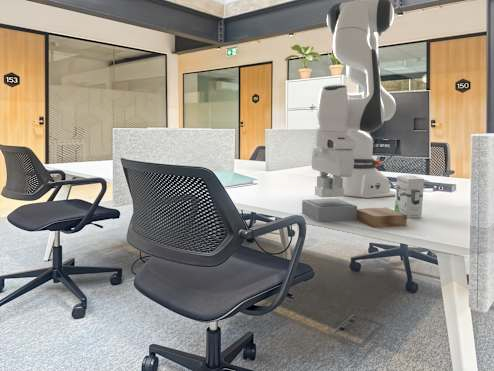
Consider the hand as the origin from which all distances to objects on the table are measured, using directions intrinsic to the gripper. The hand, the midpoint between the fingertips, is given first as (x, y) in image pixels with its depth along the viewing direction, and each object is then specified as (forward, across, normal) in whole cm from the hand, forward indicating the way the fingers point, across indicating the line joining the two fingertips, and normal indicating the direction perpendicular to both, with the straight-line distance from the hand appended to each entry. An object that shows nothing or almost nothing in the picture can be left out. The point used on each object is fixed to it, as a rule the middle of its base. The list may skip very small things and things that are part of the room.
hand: (329, 188), depth 121 cm
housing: (+2, 0, 0) cm, 2 cm away
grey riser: (+8, 0, 0) cm, 8 cm away
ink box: (+8, +3, +25) cm, 27 cm away
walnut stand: (+8, +10, +11) cm, 17 cm away
